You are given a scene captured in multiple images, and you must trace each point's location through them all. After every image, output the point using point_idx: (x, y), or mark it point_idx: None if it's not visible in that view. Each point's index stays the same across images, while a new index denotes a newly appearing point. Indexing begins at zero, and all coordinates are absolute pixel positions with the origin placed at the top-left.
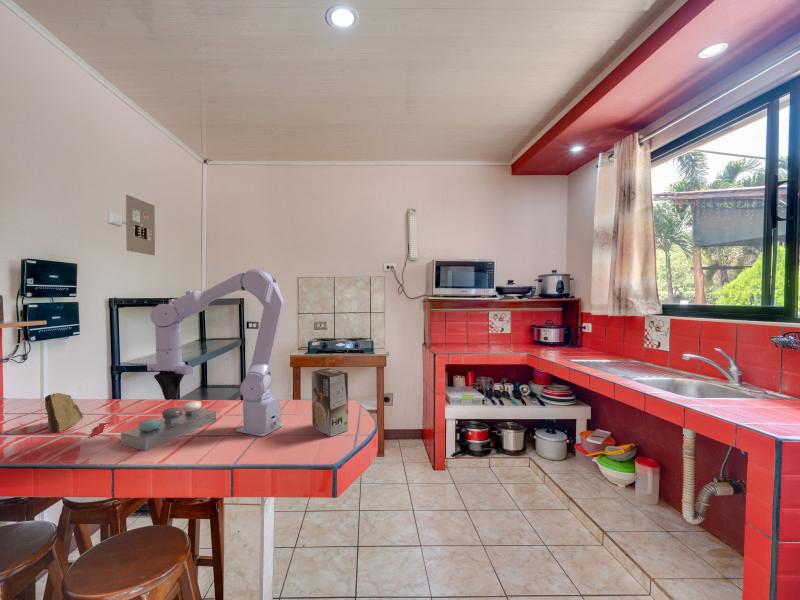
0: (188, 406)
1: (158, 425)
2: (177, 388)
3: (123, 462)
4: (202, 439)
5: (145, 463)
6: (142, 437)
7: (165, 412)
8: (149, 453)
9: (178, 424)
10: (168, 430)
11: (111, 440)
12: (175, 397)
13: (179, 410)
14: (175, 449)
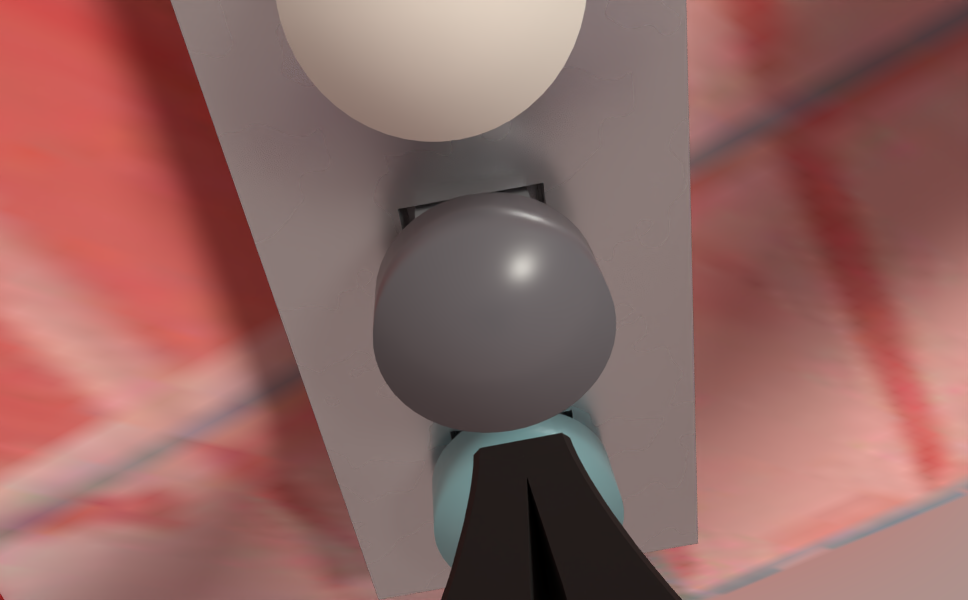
0: (517, 110)
1: (603, 454)
2: (636, 554)
3: (703, 578)
4: (939, 134)
5: (853, 523)
6: (651, 547)
7: (505, 414)
8: (735, 468)
9: (659, 272)
10: (692, 377)
11: (206, 529)
12: (568, 439)
13: (602, 290)
14: (867, 353)
